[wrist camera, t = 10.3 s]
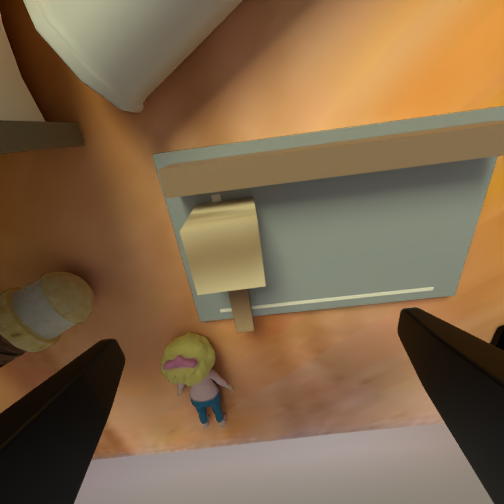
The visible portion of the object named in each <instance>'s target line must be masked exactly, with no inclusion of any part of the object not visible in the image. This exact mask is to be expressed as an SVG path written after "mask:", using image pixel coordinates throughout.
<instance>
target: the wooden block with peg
mask: <svg viewBox="0 0 504 504" xmlns="http://www.w3.org/2000/svg"><path fill="white" fill-rule="evenodd" d="M180 235H181V239H182V242H183V246H184V249H185V253H186V256H187V260H188V263H189V267H190V270H191V274H192V278H193V281H194V285H195V288H196V292H197V295H202V294H210V293H218V292H225V291H228V294H229V299H230V304H231V309H232V313H233V318H234V323H235V328H236V332H237V333H239V332H247V331H254V320H253V313H252V307H251V301H250V295H249V288H257V287H264V286H266V284H265V276H264V268H263V260H262V252H261V244H260V236H259V228H258V220H257V214H256V208H255V203H254V197H248V198H240V199H233V200H226V201H219V202H211V203H204V204H197V205H195V207H194V209H193V210H192V212H191V214H190V215H189V217H188V219H187V220H186V222H185V223H184V225H183V227H182V228H181V230H180Z"/></svg>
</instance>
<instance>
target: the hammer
mask: <svg viewBox="0 0 504 504" xmlns="http://www.w3.org/2000/svg"><path fill="white" fill-rule="evenodd" d="M93 303H94V293H93V291H92V289H91V288H90V286H89V285H88V283H87V282H86V281H85V280H84V279H83V278H81V277H79V276H77V275H75V274H73V273H68V272H61V271H54V272H49V273H45V274H43V275H42V276H41V279H39V280H37V281H35V282H33V283H31V284H29V285H28V286H26V287H23V288H18V287H17V288H11V289H9V290H7V291H3V292H0V368H1V367H2V366H4V365H5V364H7V363H8V362H10V361H12V360H13V359H14V358H16V357H18V356H21V355H22V354H24V353H25V352H39V351H42V350H44V349H46V348H47V347H49V346H50V345H52V344H55V342H57V341H58V340H59V338H60V334H61V333H62V332H64V331H66V330H68V329H69V328H71V327H72V326H74V325H75V324H78V323H83V322H84V321H85V320H86V319H87V318H88V317H89V316H90V313H91V310H92V307H93Z"/></svg>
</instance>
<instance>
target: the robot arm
mask: <svg viewBox="0 0 504 504" xmlns="http://www.w3.org/2000/svg"><path fill="white" fill-rule="evenodd" d="M398 335H399V338H400V340H401V342H402V344H403V346H404V348H405V350H406V352H407V354H408V356H409V358H410V361H411V363H412V365H413V367H414V369H415V371H416V373H417V375H418V377H419V379H420V381H421V383H422V385H423V387H424V389H425V390H426V392H427V394H428V396H429V397H430V399H431V400H432V402H433V404H434V405H435V407H436V409H437V410H438V412H439V414H440V415H441V417H442V419H443V420H444V422H445V424H446V425H447V427H448V428H449V430H450V432H451V433H452V435H453V437H454V438H455V440H456V442H457V443H458V445H459V447H460V448H461V450H462V452H463V453H464V455H465V456H466V458H467V460H468V461H469V463H470V465H471V466H472V468H473V470H474V471H475V473H476V475H477V476H478V478H479V480H480V481H481V483H482V485H483V486H484V488H485V489H486V491H487V493H488V494H489V496H490V498H491V499H492V501H493V502H494V504H504V325H503V326H501V327H500V328H499V329H498V331H497V333H496V336H495V338H494V340H493V342H492V345H491V344H489V343H487V342H485V341H483V340H481V339H479V338H477V337H475V336H473V335H471V334H469V333H467V332H465V331H463V330H461V329H459V328H457V327H455V326H453V325H451V324H449V323H447V322H445V321H443V320H441V319H439V318H437V317H435V316H433V315H431V314H429V313H427V312H425V311H423V310H421V309H419V308H415V307H414V308H404V309H402V310H401V312H400V318H399V323H398ZM124 365H125V356H124V353H123V351H122V350H121V348H120V346H119V344H118V342H117V340H115V339H104V340H101V341H99V342H98V343H96V344H95V345H93V346H92V347H91V348H89V349H88V350H87V351H85V352H84V353H83V354H81V355H80V356H78V357H77V358H76V359H74V360H73V361H72V362H70V363H69V364H68V365H66V366H65V367H63V368H62V369H61V370H59V371H58V372H57V373H55V374H54V375H52V376H51V377H50V378H48V379H47V380H46V381H44V382H43V383H42V384H40V385H39V386H37V387H36V388H35V389H33V390H32V391H31V392H29V393H28V394H27V395H25V396H24V397H22V398H21V399H20V400H18V401H17V402H16V403H14V404H13V405H11V406H10V407H9V408H7V409H6V410H5V411H3V412H2V413H1V414H0V504H74V502H75V499H76V497H77V494H78V492H79V489H80V487H81V484H82V482H83V479H84V477H85V474H86V472H87V469H88V467H89V464H90V462H91V459H92V457H93V454H94V452H95V449H96V447H97V444H98V442H99V439H100V437H101V434H102V432H103V429H104V427H105V424H106V422H107V419H108V417H109V414H110V411H111V408H112V405H113V402H114V398H115V395H116V392H117V388H118V385H119V381H120V378H121V375H122V371H123V368H124Z"/></svg>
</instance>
